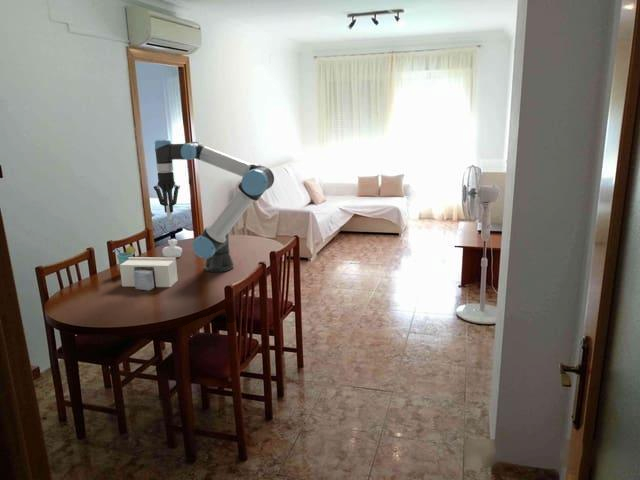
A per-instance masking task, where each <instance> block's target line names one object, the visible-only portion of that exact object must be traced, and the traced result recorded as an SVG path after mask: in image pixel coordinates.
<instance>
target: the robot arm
mask: <svg viewBox="0 0 640 480" xmlns="http://www.w3.org/2000/svg"><path fill="white" fill-rule="evenodd" d="M154 153H155V161H156V171H157V180H158V181H157V184H156V185H154V186H153V189H154V191H155V193H156V195H157V199H158V202H159V204H160V206H163V207H164V213H166V220H172V219H173V213H174V206H175V205H176V204H177V201H178V195H179V190H180V188H181V185H179V184H178V185H177V183H176V181H175V176H174V175H175V174H174V166H173V165H174V163H173V161H174V160H179V161H181V160H182V161H183V160H184V161H185V160H186V161H191V160H194V159H196V160H199V161H201V162H204V163H207V164H209V165H210V166H211V165H212V166H213V167H216V168H219V169H222V170H224V171H226V172H229V173H232V174H235V175H237V176H240V177H241V181H240V182H239V184H238V185H237V189H238V191H237V192H236V193H235V194H234V195H233V196H232V198H231V200H229V202H228V204H227V205H226V206H225V207H224V208H223V210H222V211H221V212H220V214H219V216H217V217H216V219H215V220H214V222H213V223H212V224H211V225H207V226H206V227H205V228H204V229H203V231H202V232H201V234H200V235H198V236H197V237H195V239H193V242H192V249H193V252H194V254H195V255H196V256H197V257H199V258H201V259H204V260H205V264H204V270H205V271H206V272H210V273H223V271H224V272H228V271H231V270H233V269H234V268H235V266H234V265H235V264H234V260H233V258H232V256H231V254H230V253H231V252H230V240H229V232H230V231H231V230H232V228H233V227H234V226H235V224H236V223H237V222H238V221H239V220H240V218H241V217H242V216H243V214H244V213H246V211H247V210H248V208H249V207H250V205H251V204H252V203H254V202H257V201H259V199H260V198H261V197H262V195H263V194H264V193H265V191H267V190H269V189H270V188H271V187H272V186H273V185H274V182H275V175H274V173H273V171H272V170H271V169H270V168H269V167H267V166H264V165H260V164H258V163H256V162H251V163H249V162H247V161H244V160H242V159H239V158H238V157H237V158H236V157H235V156H234V157H233V156H232V155H229V154H226V153H224V152H221V151H219V150H216V149H212V148H210V147H207V146H205V145H203V144H202V143H201V142H199V141H191V142H185V143H172V141H171V140H170V139H156V140H155V141H154ZM233 267H234V268H233ZM232 268H233V269H232Z"/></svg>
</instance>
